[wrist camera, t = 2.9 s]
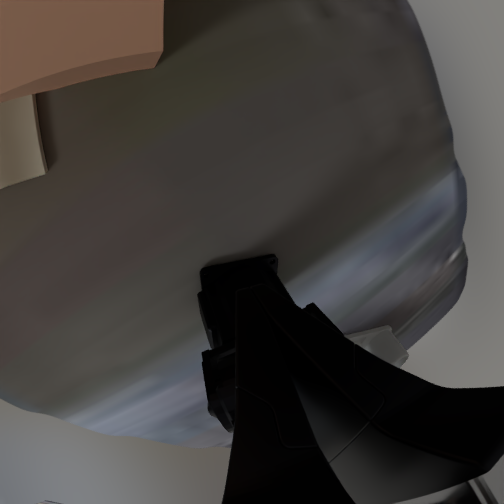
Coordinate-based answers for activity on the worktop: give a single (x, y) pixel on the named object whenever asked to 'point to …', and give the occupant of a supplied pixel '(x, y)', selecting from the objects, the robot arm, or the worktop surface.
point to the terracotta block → (75, 42)
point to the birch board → (20, 141)
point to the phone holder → (381, 344)
